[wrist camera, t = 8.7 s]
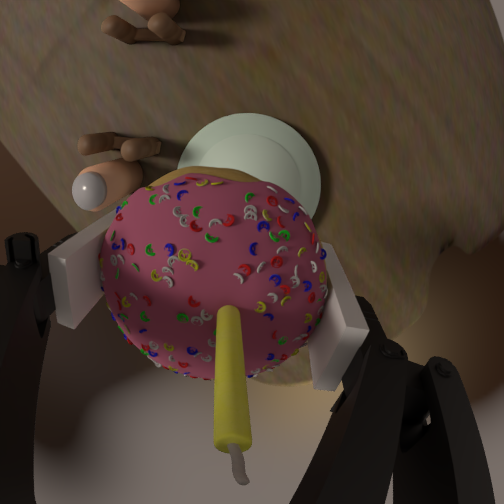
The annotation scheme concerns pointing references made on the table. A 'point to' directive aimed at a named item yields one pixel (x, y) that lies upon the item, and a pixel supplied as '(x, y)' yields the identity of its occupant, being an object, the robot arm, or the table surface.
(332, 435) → the robot arm
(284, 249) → the cupcake
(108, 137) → the rack
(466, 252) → the table surface
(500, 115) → the table surface
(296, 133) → the plate
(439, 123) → the table surface
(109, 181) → the shaker
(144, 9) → the shaker
